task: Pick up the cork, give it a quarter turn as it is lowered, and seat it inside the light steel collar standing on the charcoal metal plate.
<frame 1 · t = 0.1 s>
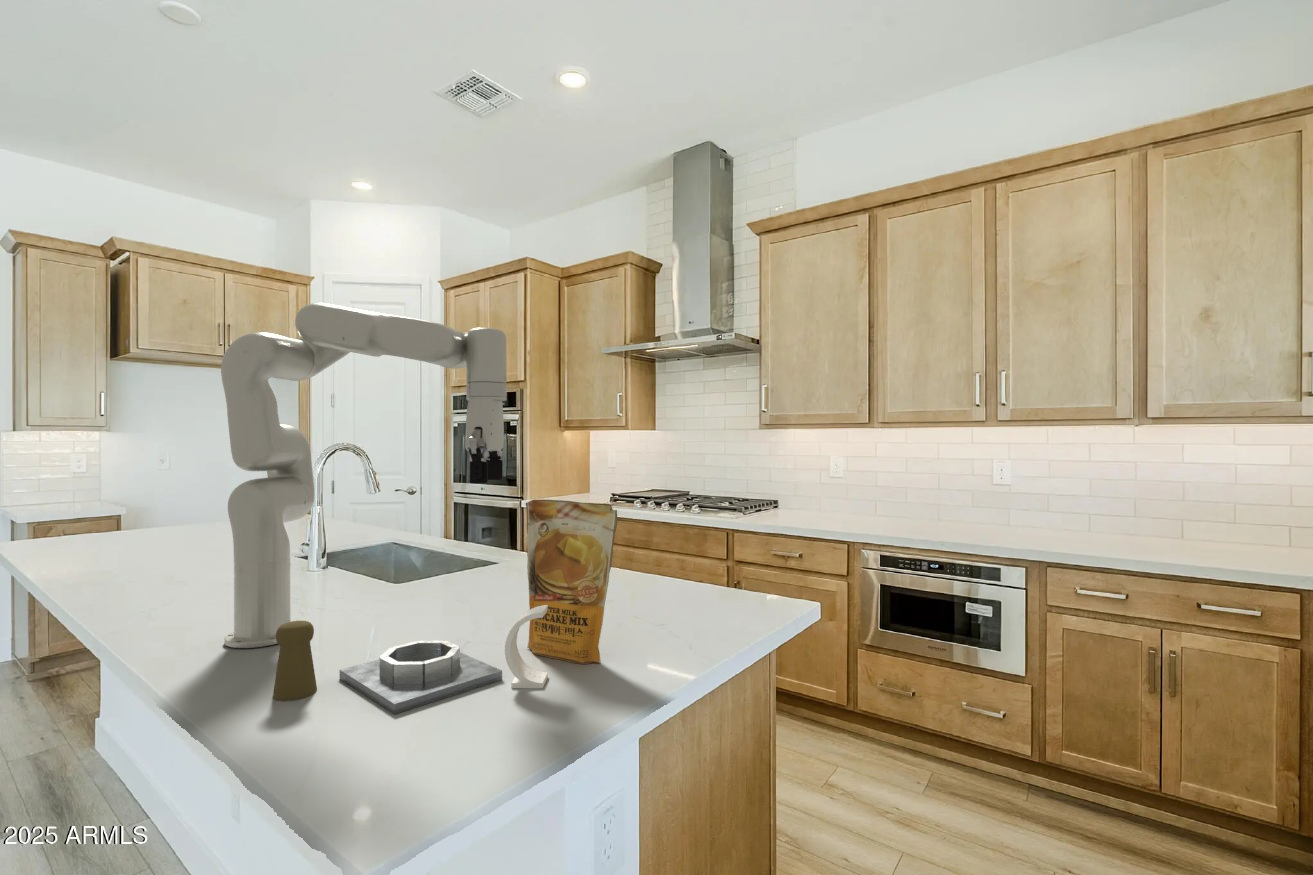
hand: (486, 481, 125), 31 cm above the counter, tool pointing down, fingers open, 9 cm apart
headphone stand: (526, 683, 104), on the counter
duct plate: (420, 679, 106), on the counter
pancake mix bag: (566, 655, 118), on the counter
cork: (295, 694, 100), on the counter
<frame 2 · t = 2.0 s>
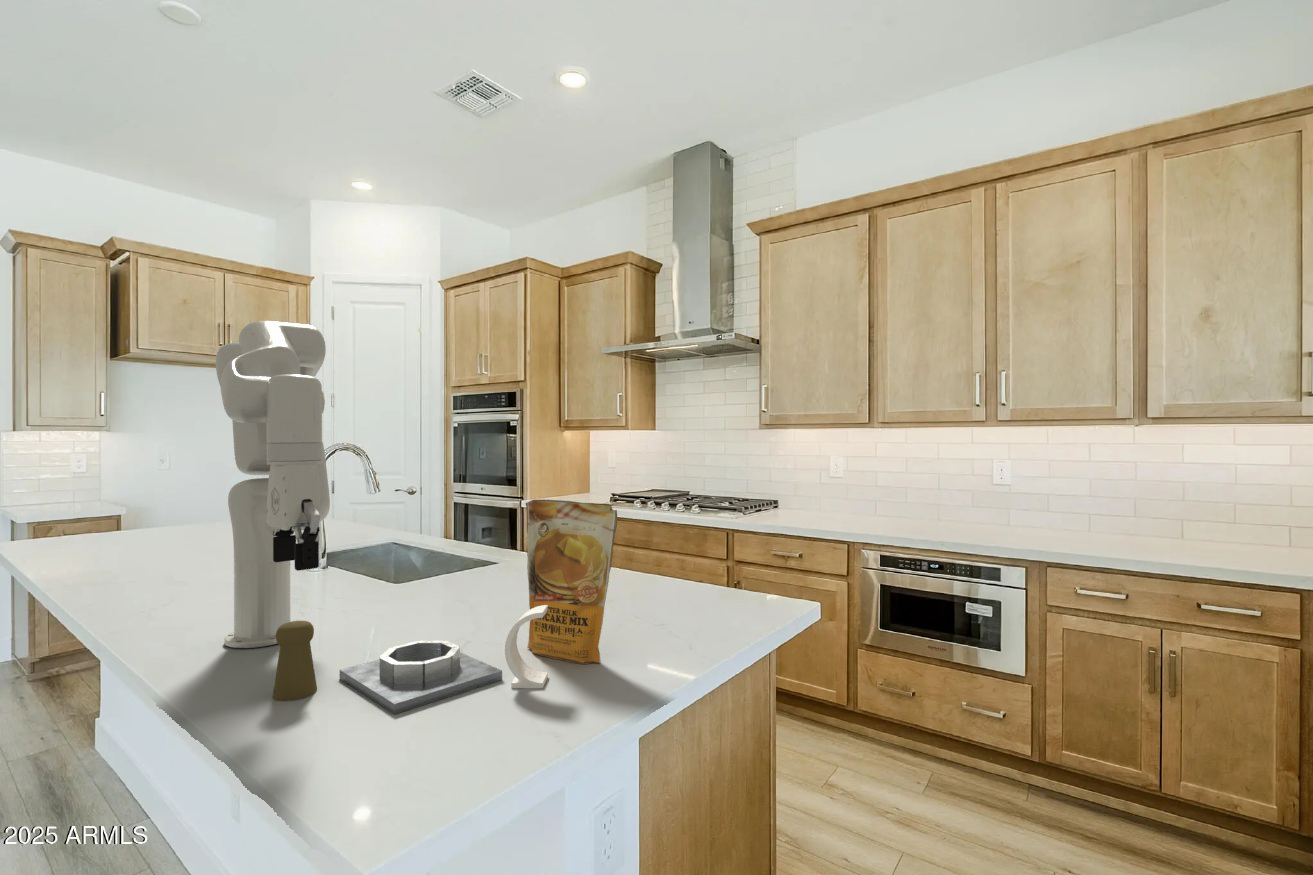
hand: (295, 564, 100), 20 cm above the counter, tool pointing down, fingers open, 9 cm apart
nothing on the counter moved.
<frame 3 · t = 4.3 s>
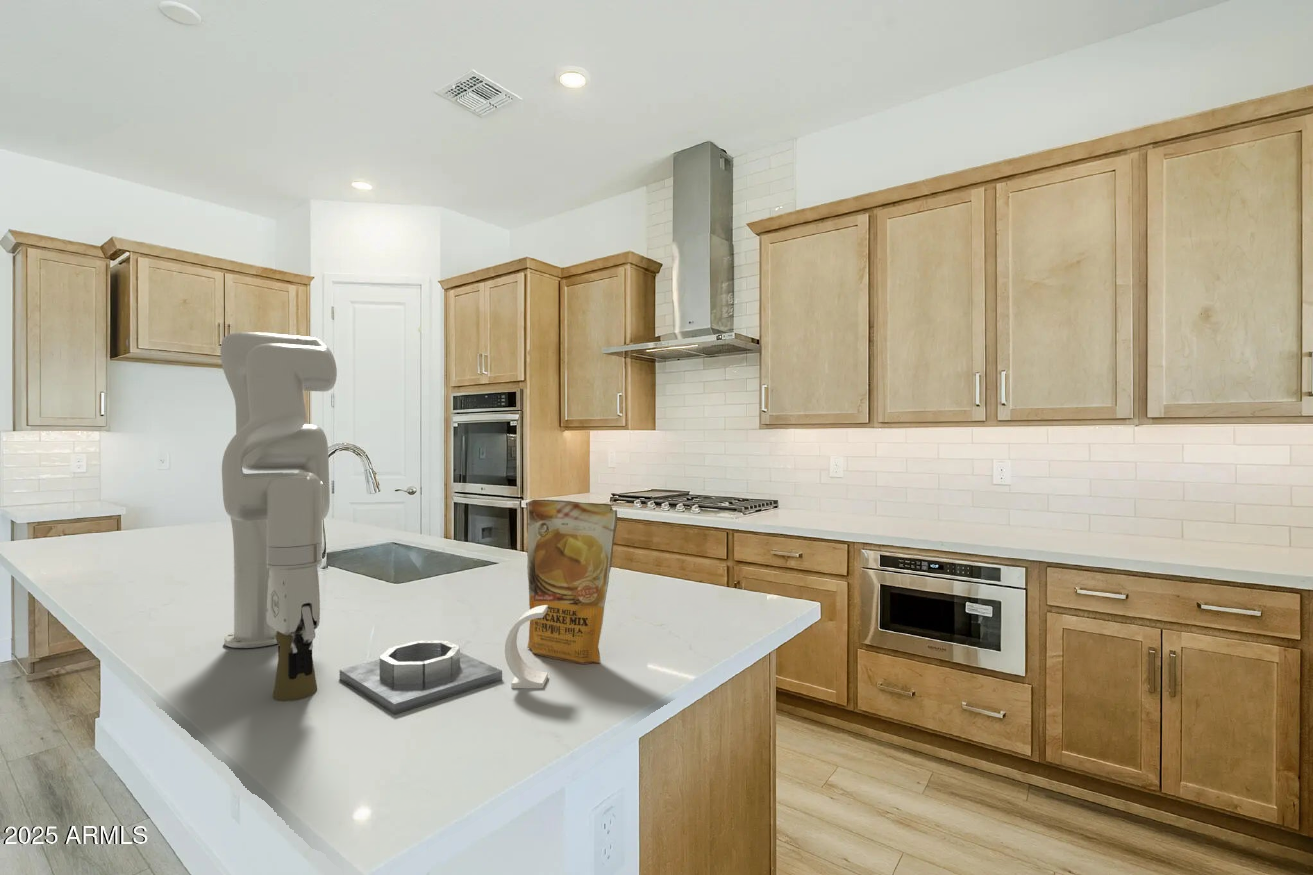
hand: (295, 671, 100), 3 cm above the counter, tool pointing down, fingers closed on cork, 3 cm apart
cork: (295, 694, 100), on the counter, touching gripper
everything else where it was.
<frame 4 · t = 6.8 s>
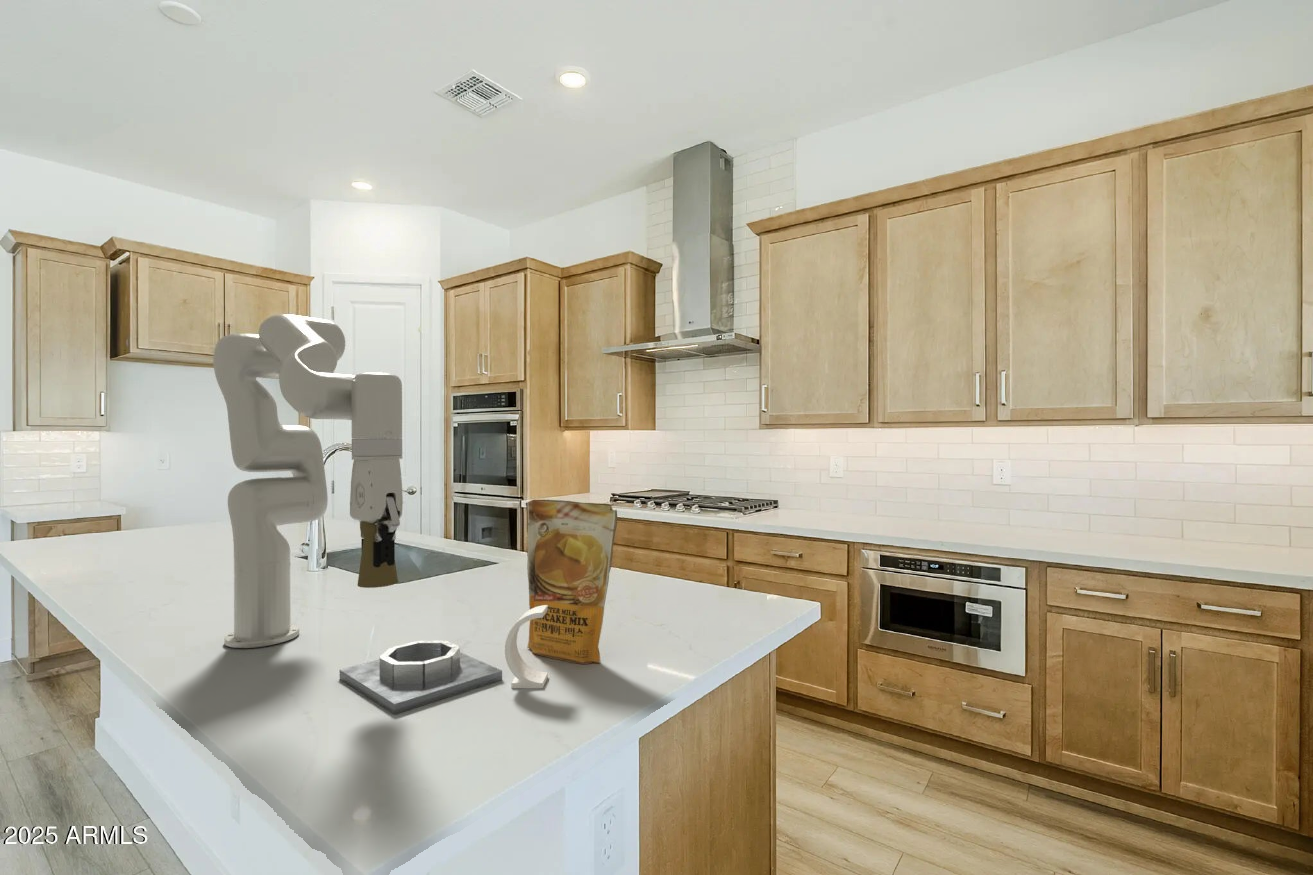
hand: (378, 562, 104), 20 cm above the counter, tool pointing down, fingers closed on cork, 3 cm apart
cork: (377, 584, 104), point 16 cm above the counter, touching gripper
everything else where it was.
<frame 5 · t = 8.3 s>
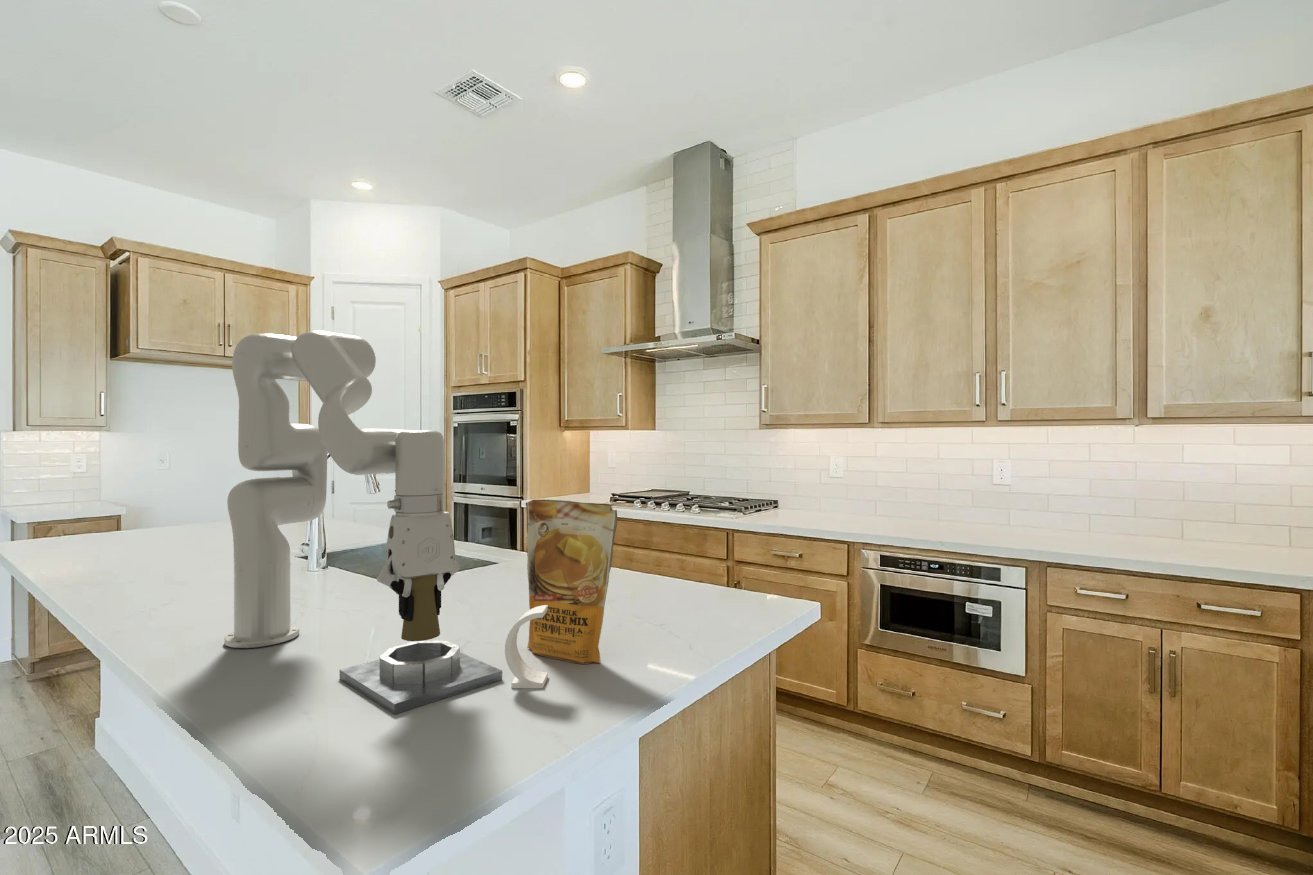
hand: (420, 615, 106), 10 cm above the counter, tool pointing down, fingers closed on cork, 3 cm apart
cork: (420, 636, 106), point 7 cm above the counter, touching gripper
everything else where it was.
when the fingers open (6 cm above the counter, at t = 9.7 s): cork stays where it is, resting on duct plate.
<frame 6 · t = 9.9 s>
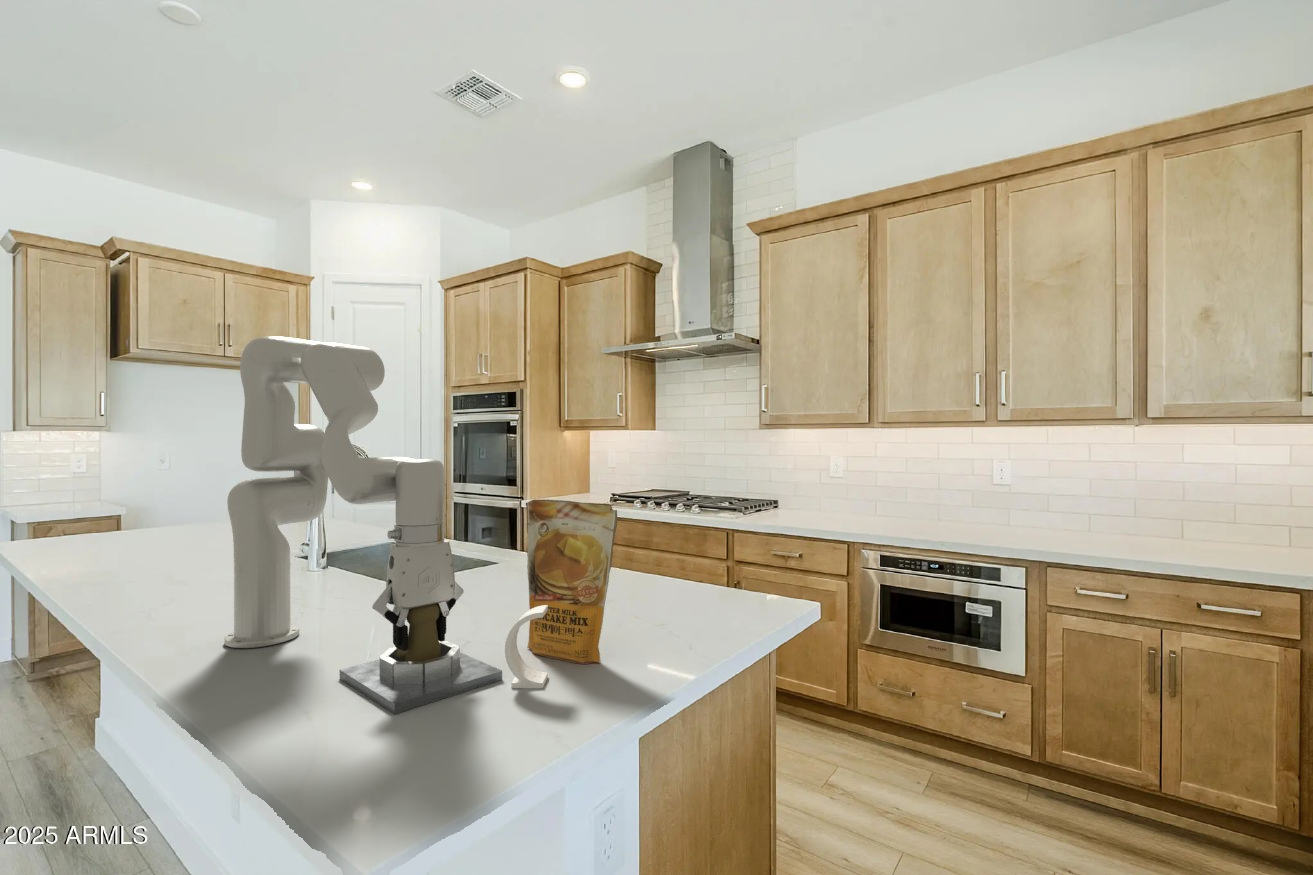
hand: (420, 643, 106), 6 cm above the counter, tool pointing down, fingers open, 5 cm apart
cork: (423, 670, 106), point 1 cm above the counter, touching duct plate, gripper
everything else where it was.
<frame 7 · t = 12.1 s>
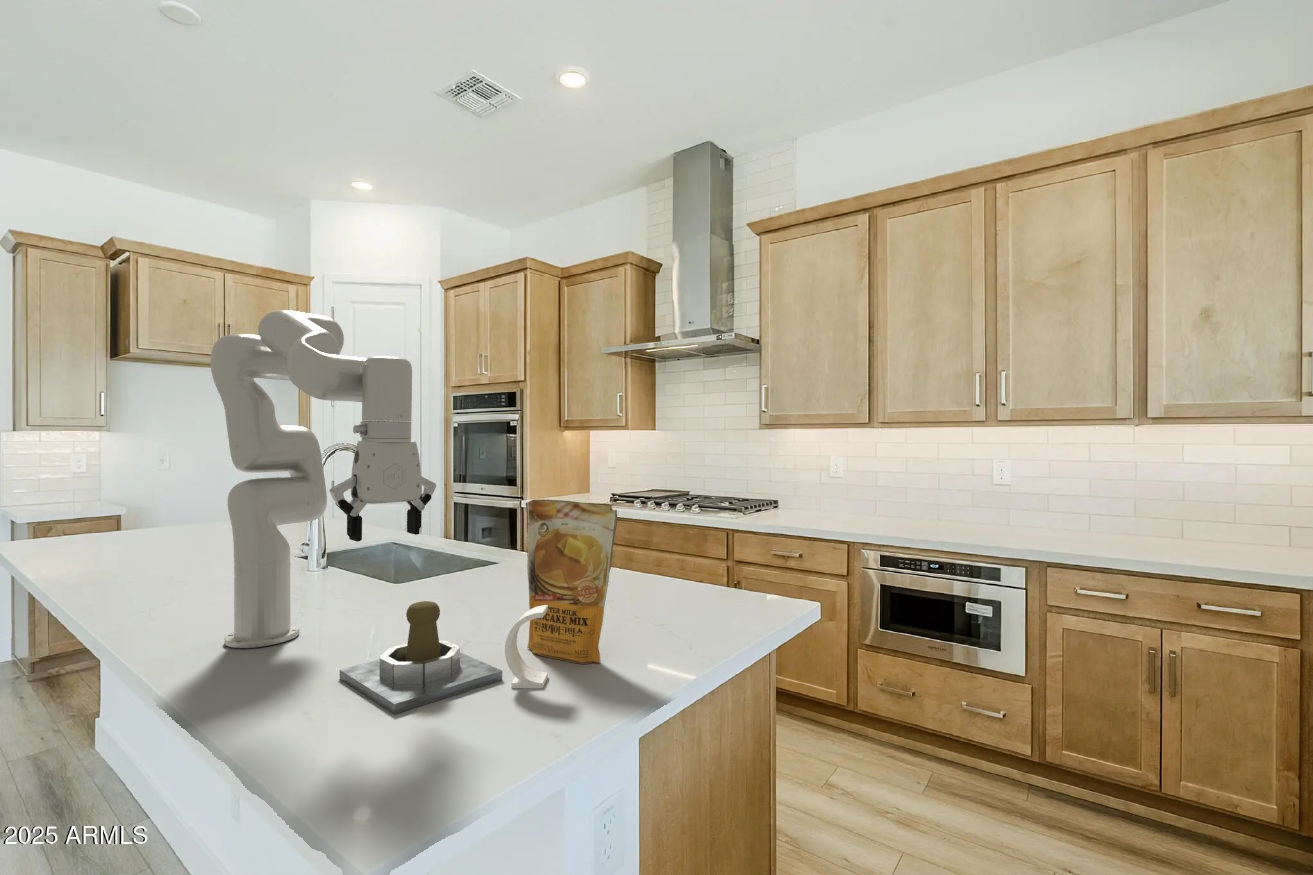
hand: (385, 536, 106), 23 cm above the counter, tool pointing down, fingers open, 9 cm apart
cork: (423, 670, 106), point 1 cm above the counter, touching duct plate
everything else where it was.
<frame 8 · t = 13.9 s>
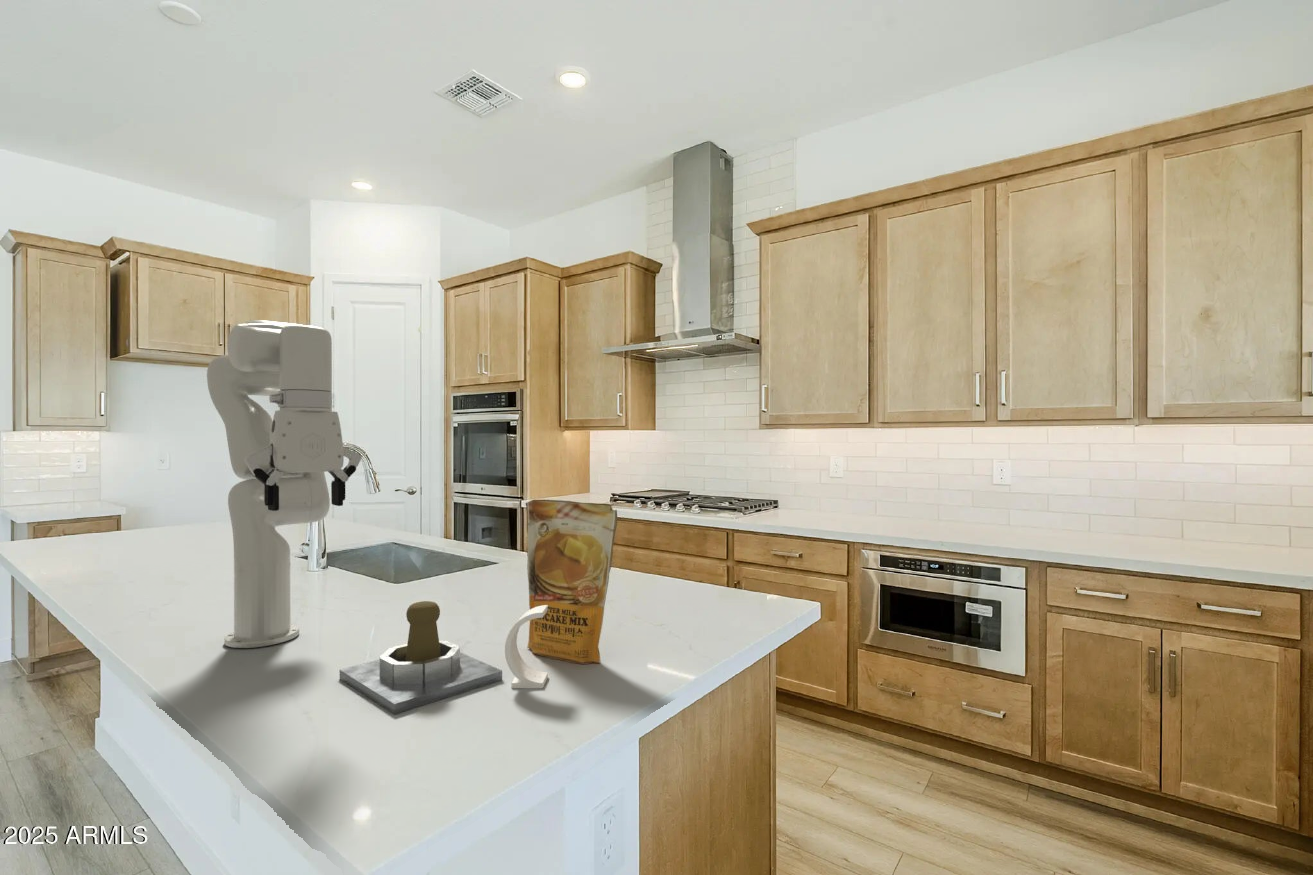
hand: (306, 507, 105), 28 cm above the counter, tool pointing down, fingers open, 9 cm apart
nothing on the counter moved.
at the end: cork 0.5 cm off-centre on the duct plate, point 1.3 cm above the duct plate's base; cork tilted 0°; the gripper is holding nothing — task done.
